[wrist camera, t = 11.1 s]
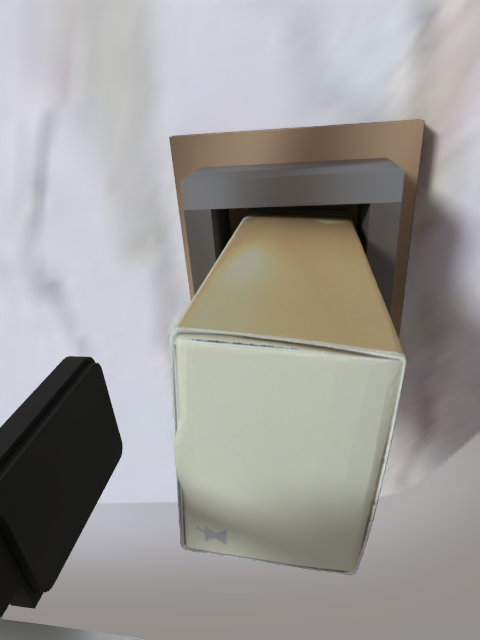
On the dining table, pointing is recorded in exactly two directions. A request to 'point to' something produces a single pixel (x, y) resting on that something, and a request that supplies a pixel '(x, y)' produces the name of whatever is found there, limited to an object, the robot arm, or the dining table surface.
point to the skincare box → (285, 394)
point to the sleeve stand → (303, 189)
